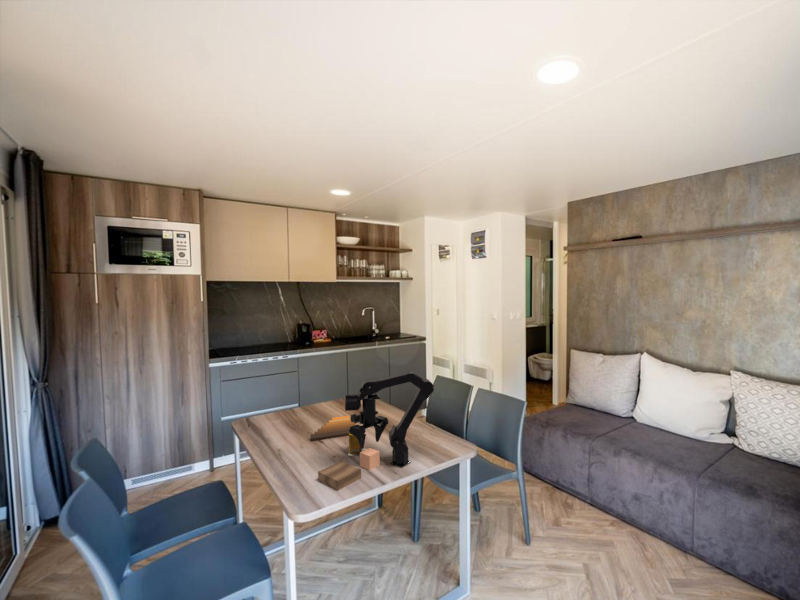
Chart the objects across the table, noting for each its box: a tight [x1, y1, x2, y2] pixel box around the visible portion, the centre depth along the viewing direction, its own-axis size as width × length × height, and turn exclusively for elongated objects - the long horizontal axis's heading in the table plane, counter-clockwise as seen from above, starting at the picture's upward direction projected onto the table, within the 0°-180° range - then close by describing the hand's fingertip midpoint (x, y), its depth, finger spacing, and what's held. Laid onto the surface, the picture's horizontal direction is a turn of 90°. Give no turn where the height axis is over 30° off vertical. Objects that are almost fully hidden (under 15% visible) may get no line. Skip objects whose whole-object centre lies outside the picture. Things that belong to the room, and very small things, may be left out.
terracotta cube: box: [359, 447, 381, 471], centre depth 159 cm, size 6×6×6 cm
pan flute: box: [309, 415, 356, 442], centre depth 202 cm, size 25×3×25 cm
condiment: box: [347, 425, 367, 457], centre depth 172 cm, size 7×8×12 cm
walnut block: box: [317, 460, 362, 491], centre depth 147 cm, size 12×12×4 cm
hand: (369, 445), depth 159 cm, fingers open, 9 cm apart
